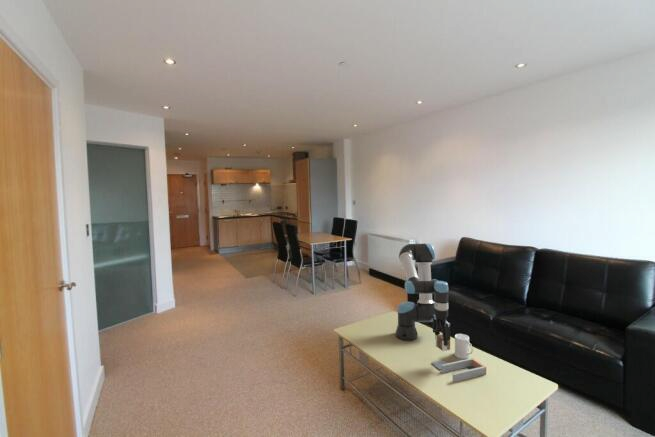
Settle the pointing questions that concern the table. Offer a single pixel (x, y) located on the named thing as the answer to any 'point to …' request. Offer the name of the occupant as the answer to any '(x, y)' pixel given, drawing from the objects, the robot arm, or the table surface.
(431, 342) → the table surface
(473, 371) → the channel
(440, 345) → the block
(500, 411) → the table surface
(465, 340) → the mug
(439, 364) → the coaster
